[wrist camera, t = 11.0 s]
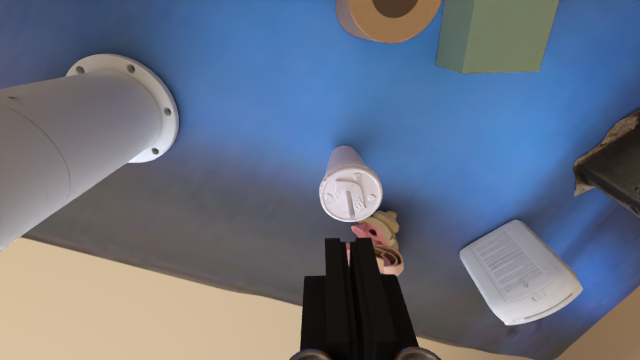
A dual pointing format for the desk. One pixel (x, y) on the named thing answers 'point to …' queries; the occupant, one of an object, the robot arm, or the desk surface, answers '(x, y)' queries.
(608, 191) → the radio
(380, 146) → the desk surface
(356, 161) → the smoothie
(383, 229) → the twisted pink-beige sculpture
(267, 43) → the desk surface
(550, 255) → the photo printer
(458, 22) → the green block
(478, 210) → the desk surface
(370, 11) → the paper roll
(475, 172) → the desk surface
